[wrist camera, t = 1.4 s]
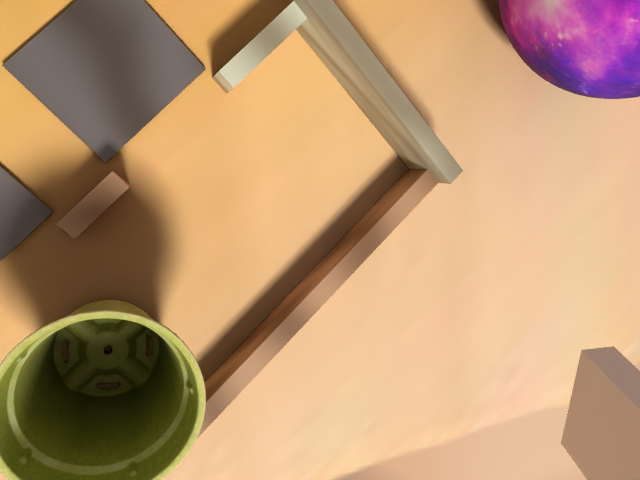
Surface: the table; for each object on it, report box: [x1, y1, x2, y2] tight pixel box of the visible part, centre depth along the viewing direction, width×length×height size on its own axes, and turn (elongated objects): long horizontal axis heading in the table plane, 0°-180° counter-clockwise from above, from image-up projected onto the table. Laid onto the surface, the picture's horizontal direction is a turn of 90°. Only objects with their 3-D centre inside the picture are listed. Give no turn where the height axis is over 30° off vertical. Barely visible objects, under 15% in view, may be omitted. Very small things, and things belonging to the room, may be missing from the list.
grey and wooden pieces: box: [0, 0, 463, 438], centre depth 31 cm, size 29×22×4 cm
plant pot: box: [0, 300, 206, 480], centre depth 28 cm, size 9×9×9 cm
